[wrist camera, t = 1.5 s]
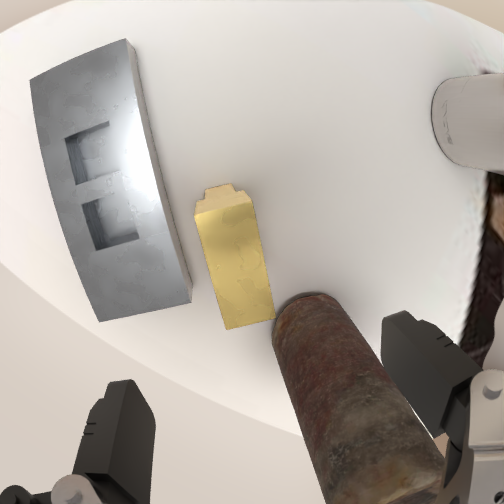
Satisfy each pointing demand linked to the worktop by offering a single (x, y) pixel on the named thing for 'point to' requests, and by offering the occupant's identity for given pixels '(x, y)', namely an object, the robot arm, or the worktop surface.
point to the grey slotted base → (109, 183)
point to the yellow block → (234, 256)
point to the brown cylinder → (352, 411)
